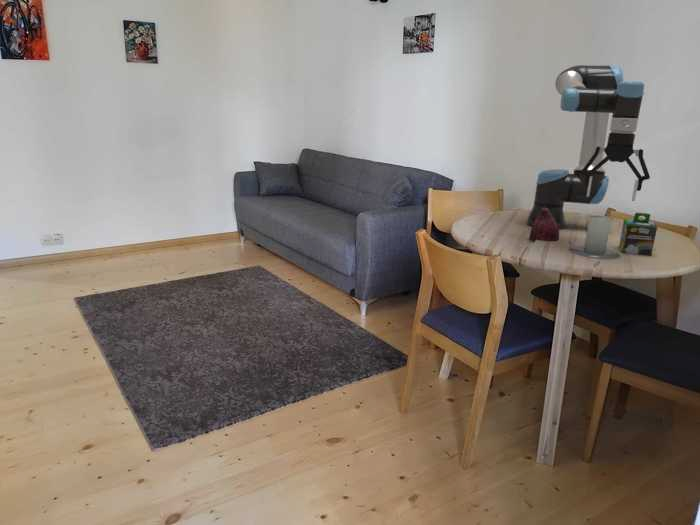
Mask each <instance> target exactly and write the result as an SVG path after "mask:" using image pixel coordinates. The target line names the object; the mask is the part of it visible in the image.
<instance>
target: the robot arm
mask: <svg viewBox="0 0 700 525" xmlns="http://www.w3.org/2000/svg"><path fill="white" fill-rule="evenodd" d="M555 90H556V92H557V94H559V95H560V104H559V105H560V110H561V111H565V112H569V113H572V112H576V113H577V112H580V113H585V118H584V125H583V132H582V140H581V145H580V146H581V147H580V152H579V153H580V154H579V159H578V160H579V161H578V166H576V167H575V168H574V170H573V173H570V171H569V170H568V169H546V170H542V171H540V172H539V174H538V175H537V180H536V182H535V183H536V188H535V194H534V201H533V207H532V208H531V210H530V212H529V214H528V216H527V220H526V224H527V226H531V227H532V226H533V224H534V222H535V220H536V219H537V217H538V215H539V214H540V212H541V210H542V208H544V206H545V207H546V208H548V210H549V211H550V213H551V215H552V217H553V218H554V219H555V221H556V223H557V225H558V229H559V230H561V229H564V228H565V227H566V219H565V213H564V203H573V204H582V205H583V204H585V205H598V204H600V203H602V201H603V200H604V199H605V195H606V193H607V191H608V188H609V180H610V179H609V176H607V175H605V174H606V171H605V169H604V168H603V165H604V164H606V163H607V162H608V161H610V162H612V163H616V162H617V163H624V162H626V163H627V165H628V166H629V168H630V169H631V170H632V172H633V174H634V175H635V176H636V178H637V179H635V181H634V182H635V183H634V187H633V191H632V197H631V202H635V200H636V196H637V192H641V190H642V186H643V182H644V181H647V180H650V178H651V176H650V173H649V170H648V168H647V164H646V161H645V159H644V150H643V149H642V148H640V149H639V148H638V149H634V143H635V138H636V134H635V133H636V131H637V127H638V121H639V115H640V112H641V111H640V110H641V107H642V101H643V97H644V94H645V92H644V90H645V83H644V82H643V81H637V80H635V81H634V80H630V81H629V80H627V81H624V74H623V71H622V69H621V67H620V66H615V65H614V66H612V65H609V64H608V65H575V66H571V67H568V68H565V69H564V70H563V71H562V72H560V73H559V74H558V76H557V77H556V79H555ZM610 114H612V116H611V120H610V127H609V131H610V132H609V133H608V125H609V119H610ZM607 133H608V137H607ZM607 138H608V139H607ZM606 139H607V142H606ZM606 143H607V145H606ZM605 145H606V147H605ZM604 153H605V155H606V156H605V157H604ZM633 154H635V156H636V157H638V161H639V163H640V166H641V170H642V171H643V175H641V173H640V171H639V170H638V169H637V167H636V166H635V164H634V163H633V162H632V160H631V159H630V157H631V156H632V155H633Z"/></svg>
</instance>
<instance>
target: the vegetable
mask: <svg viewBox="0 0 700 525" xmlns="http://www.w3.org/2000/svg"><path fill="white" fill-rule="evenodd" d="M528 240H530V241H531V242H533V243H535V242H536V241H542V242H558V241H559V240H560V229H558V225H557V223H556V221H555V219H554V218H553V217H552V215H551V213H550V211H549V210H548V208H546V207H545V206H544V208H542V210H541V212H540V214H539V215H538V217H537V219H536V220H535V222H534V224H533V226H531V229H530V232H529V237H528Z"/></svg>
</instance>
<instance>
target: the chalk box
mask: <svg viewBox="0 0 700 525" xmlns="http://www.w3.org/2000/svg"><path fill="white" fill-rule="evenodd" d="M639 217H644V218H645V219H640V218H639ZM650 217H651V214H650V213H646V212H645V213H644V212H635V213H634V216H633V219H630V218H625V219H623V223H622V229H621V235H620V241H619V246H618V248H619V249H620V251H621V253H623V254H630V255H631V254H632V255H638V256H646V257H647V256H649V257H651V256H652V254H653V250H654V244H655V241H656V240H655V239H656V234H657V230H658V226H657V224H655V223H654V222H653V220H650V219H651V218H650Z"/></svg>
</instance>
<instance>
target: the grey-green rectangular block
mask: <svg viewBox="0 0 700 525" xmlns="http://www.w3.org/2000/svg"><path fill="white" fill-rule="evenodd" d="M611 224H612V218H611V217H608V216H603V215H590V216H589V219H588V224H587V231H586V236H585V242H584V246H585V247H584V252H585V253H588V254H593V255H604V254H605V251H606V249H607V245H608V241H609V234H610V229H611Z"/></svg>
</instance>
